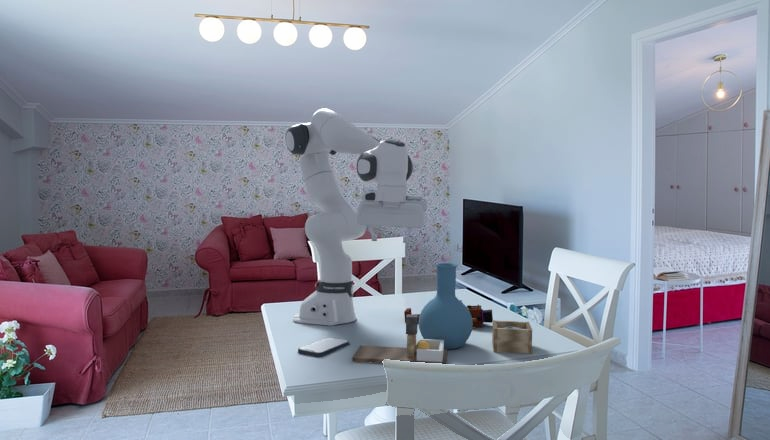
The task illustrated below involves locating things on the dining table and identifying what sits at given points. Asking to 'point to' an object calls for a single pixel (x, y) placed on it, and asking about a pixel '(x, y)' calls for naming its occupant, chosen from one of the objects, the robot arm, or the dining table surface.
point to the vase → (446, 312)
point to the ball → (422, 345)
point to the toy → (476, 313)
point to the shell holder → (512, 337)
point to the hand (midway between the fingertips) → (389, 241)
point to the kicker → (411, 334)
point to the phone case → (323, 347)
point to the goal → (431, 351)
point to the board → (387, 354)
